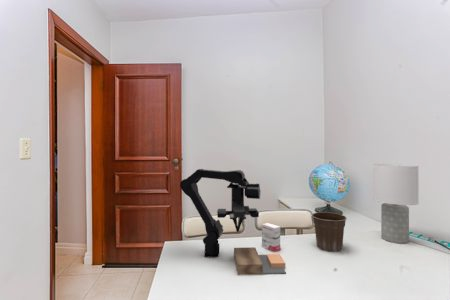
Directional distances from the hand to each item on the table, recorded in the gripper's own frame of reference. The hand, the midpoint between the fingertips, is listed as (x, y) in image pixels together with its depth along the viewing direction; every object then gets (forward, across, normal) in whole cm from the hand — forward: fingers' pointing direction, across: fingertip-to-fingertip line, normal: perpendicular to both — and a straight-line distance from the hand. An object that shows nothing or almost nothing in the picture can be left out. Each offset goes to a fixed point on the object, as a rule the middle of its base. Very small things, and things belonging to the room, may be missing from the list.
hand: (237, 231), depth 111 cm
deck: (+12, +4, -7) cm, 14 cm away
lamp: (+12, +90, +19) cm, 93 cm away
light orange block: (+10, +16, -7) cm, 20 cm away
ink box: (+12, +18, +10) cm, 24 cm away
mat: (+12, +13, -7) cm, 19 cm away
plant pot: (+12, +48, +10) cm, 51 cm away
